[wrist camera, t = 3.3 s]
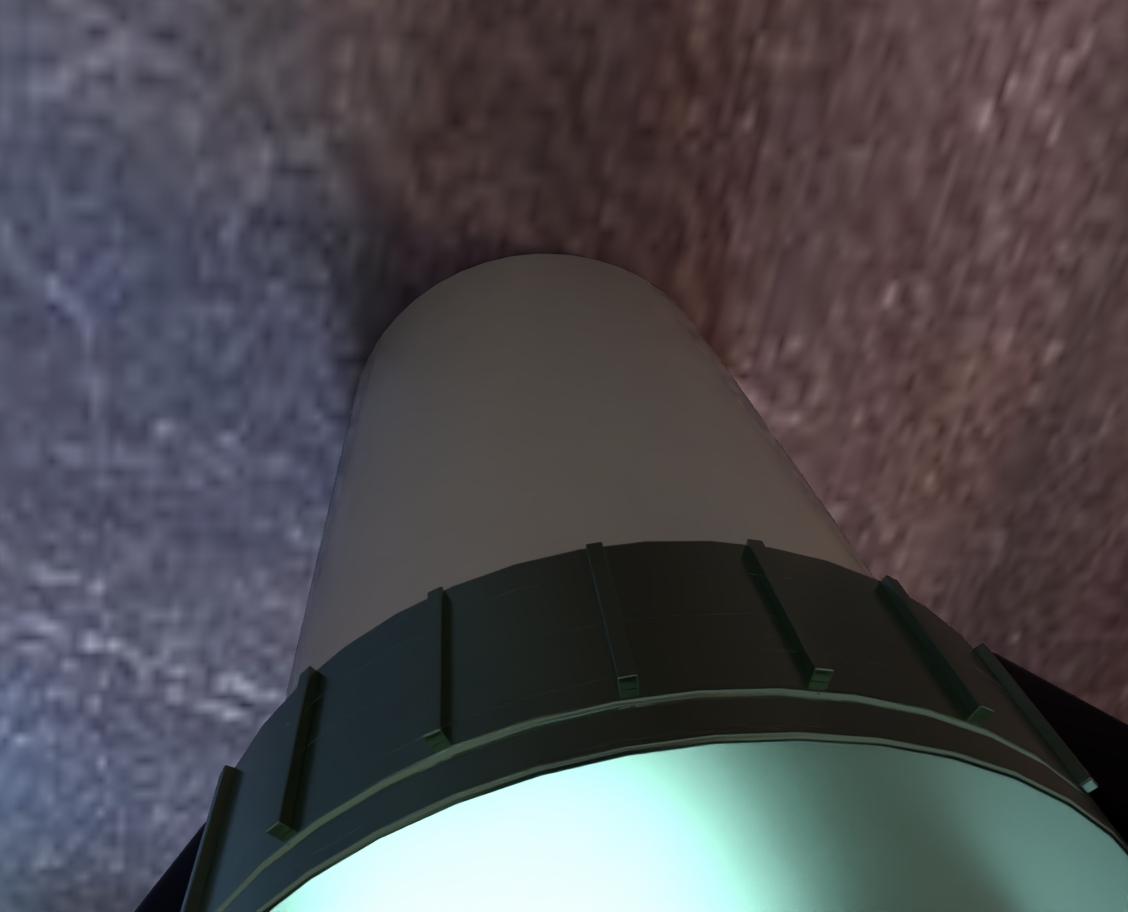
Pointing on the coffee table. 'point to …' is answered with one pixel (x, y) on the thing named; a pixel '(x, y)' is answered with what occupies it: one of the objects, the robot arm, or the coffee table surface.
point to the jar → (541, 443)
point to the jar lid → (660, 755)
